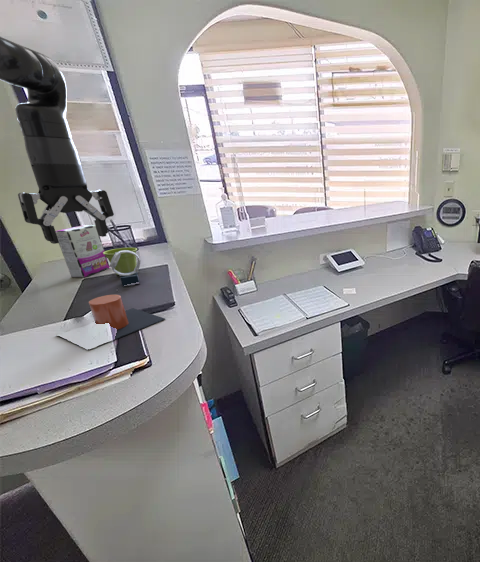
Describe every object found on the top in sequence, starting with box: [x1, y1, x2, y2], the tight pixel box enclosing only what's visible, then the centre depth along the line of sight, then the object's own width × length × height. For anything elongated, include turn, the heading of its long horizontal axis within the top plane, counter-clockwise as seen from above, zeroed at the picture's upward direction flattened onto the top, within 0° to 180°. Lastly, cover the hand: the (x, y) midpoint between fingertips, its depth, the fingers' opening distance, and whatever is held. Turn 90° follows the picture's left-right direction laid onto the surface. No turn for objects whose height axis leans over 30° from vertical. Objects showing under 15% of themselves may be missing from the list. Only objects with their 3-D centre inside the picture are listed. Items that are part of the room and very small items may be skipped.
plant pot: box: [103, 247, 138, 276], centre depth 109 cm, size 9×9×9 cm
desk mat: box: [114, 307, 166, 341], centre depth 74 cm, size 16×14×1 cm
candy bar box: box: [55, 224, 111, 278], centre depth 109 cm, size 11×5×16 cm, turn 179°
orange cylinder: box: [88, 294, 129, 330], centre depth 73 cm, size 6×6×7 cm
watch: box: [109, 250, 141, 287], centre depth 100 cm, size 6×8×11 cm
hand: (79, 239), depth 69 cm, fingers open, 8 cm apart
